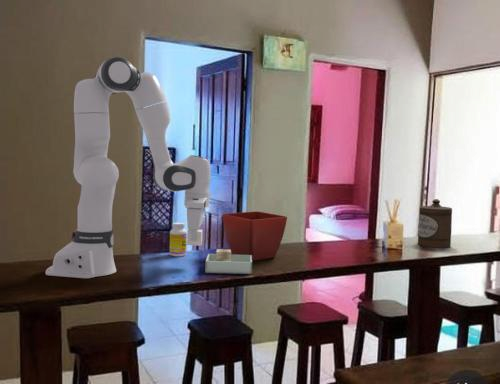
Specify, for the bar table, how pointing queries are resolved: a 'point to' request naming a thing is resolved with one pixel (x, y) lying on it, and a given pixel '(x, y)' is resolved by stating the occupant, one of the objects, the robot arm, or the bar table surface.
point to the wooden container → (435, 225)
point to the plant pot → (254, 233)
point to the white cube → (199, 238)
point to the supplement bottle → (178, 240)
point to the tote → (229, 264)
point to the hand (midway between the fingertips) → (194, 239)
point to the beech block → (223, 255)
